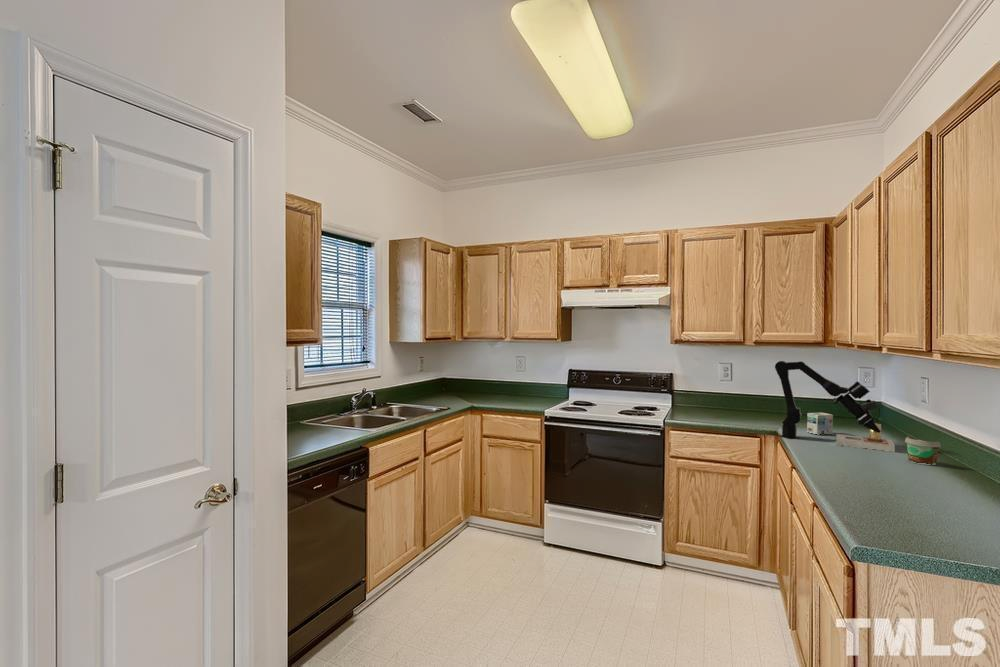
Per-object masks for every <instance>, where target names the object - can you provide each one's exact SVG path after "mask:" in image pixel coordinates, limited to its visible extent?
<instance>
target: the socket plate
mask: <svg viewBox="0 0 1000 667" xmlns="http://www.w3.org/2000/svg"><path fill="white" fill-rule="evenodd" d="M835 438H836V439H835V440H836V441H835V442H837V443H836V446H838V445H845V446H844V447H846V446H852V447H851V448H855V447H861V448H860V449H863V448H868V449H867V450H872V449H876V450H875V451H880V450H884V451H883V452H889V451H892V452H891V453H895V452H896V451H895V450H896V445H895V443H894V442H893V440H892V439H888V438H887V439H886V438H881V442H875V441H869V437H867V436H859V435H858V436H857V435H849V434H841V433H840V434H839V433H836V436H835Z"/></svg>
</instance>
